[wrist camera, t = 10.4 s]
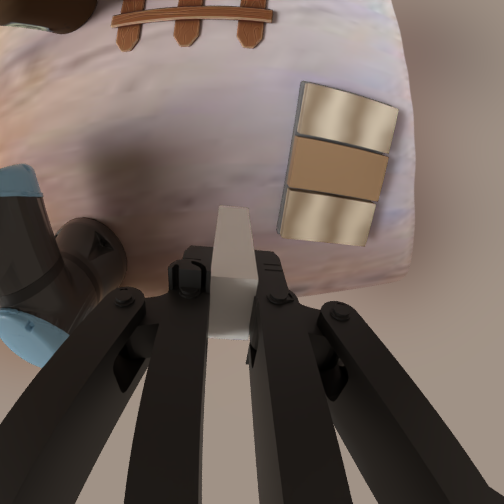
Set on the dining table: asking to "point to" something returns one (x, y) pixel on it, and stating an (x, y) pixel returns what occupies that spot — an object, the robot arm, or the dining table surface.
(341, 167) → the floor board
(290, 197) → the plank
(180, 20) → the decorative fence
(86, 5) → the olive oil
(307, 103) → the plank
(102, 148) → the dining table surface
